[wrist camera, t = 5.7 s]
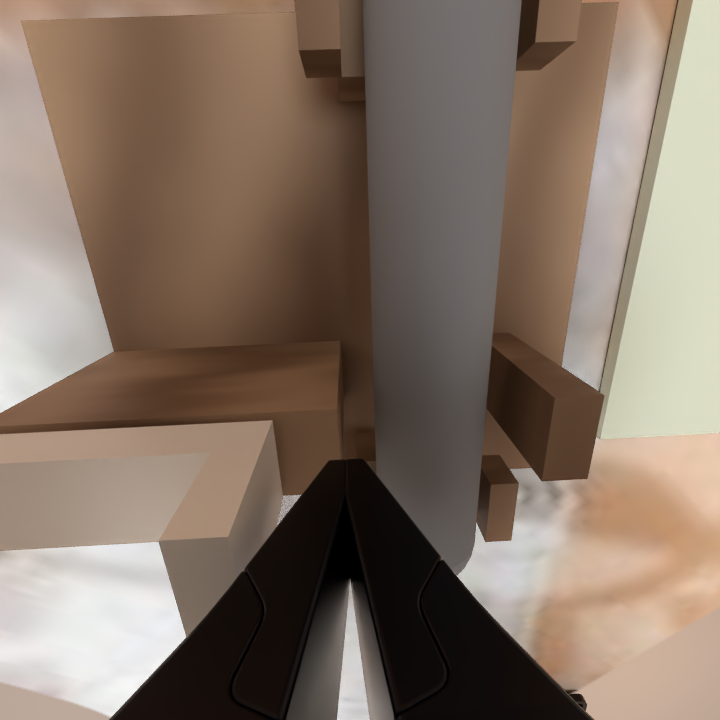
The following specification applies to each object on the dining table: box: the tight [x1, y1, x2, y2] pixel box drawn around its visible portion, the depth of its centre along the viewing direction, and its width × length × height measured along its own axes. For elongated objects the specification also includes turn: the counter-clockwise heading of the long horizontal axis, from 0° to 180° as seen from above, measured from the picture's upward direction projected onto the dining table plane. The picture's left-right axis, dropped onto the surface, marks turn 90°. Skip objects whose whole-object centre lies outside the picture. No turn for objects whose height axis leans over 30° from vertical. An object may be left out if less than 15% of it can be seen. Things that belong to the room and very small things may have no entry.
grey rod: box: [363, 0, 522, 575], centre depth 10 cm, size 3×18×3 cm, turn 2°
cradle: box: [0, 0, 619, 542], centre depth 11 cm, size 17×16×6 cm
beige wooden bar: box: [0, 420, 283, 637], centre depth 7 cm, size 7×2×3 cm, turn 92°
